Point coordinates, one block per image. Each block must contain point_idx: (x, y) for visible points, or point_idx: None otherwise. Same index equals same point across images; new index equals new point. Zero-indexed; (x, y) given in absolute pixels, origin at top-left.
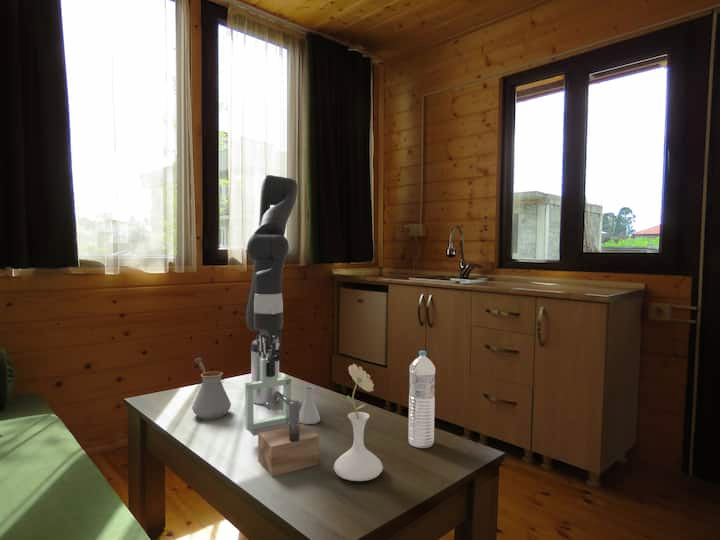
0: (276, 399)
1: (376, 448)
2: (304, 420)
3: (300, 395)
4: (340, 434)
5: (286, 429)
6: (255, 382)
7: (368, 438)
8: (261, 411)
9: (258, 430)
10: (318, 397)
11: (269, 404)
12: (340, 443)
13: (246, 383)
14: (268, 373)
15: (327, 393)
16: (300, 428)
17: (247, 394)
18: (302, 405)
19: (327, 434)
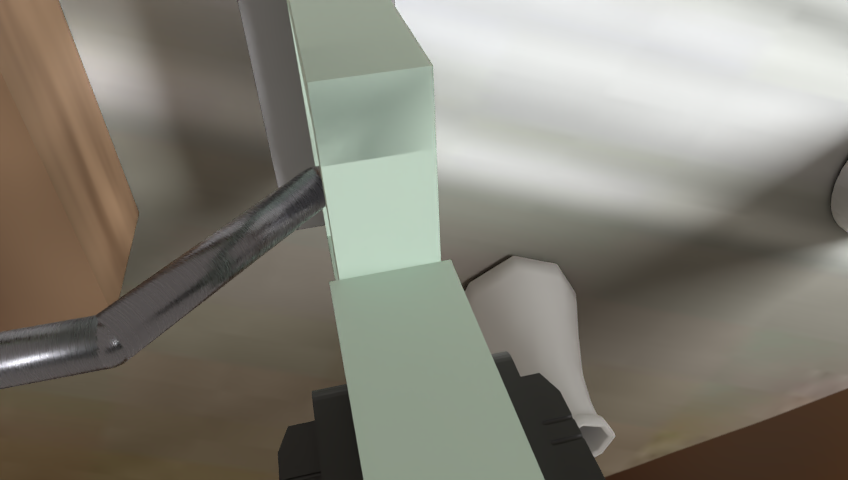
0: (841, 222)
1: (79, 472)
2: (482, 292)
3: (814, 323)
4: (283, 387)
5: (10, 205)
6: (397, 203)
7: (197, 464)
8: (778, 118)
9: (252, 13)
10: (734, 380)
11: (272, 196)
12: (177, 372)
13: (402, 79)
14: (320, 437)
15: (747, 414)
16: (18, 290)
17: (305, 28)
18: (545, 337)
19: (305, 344)
